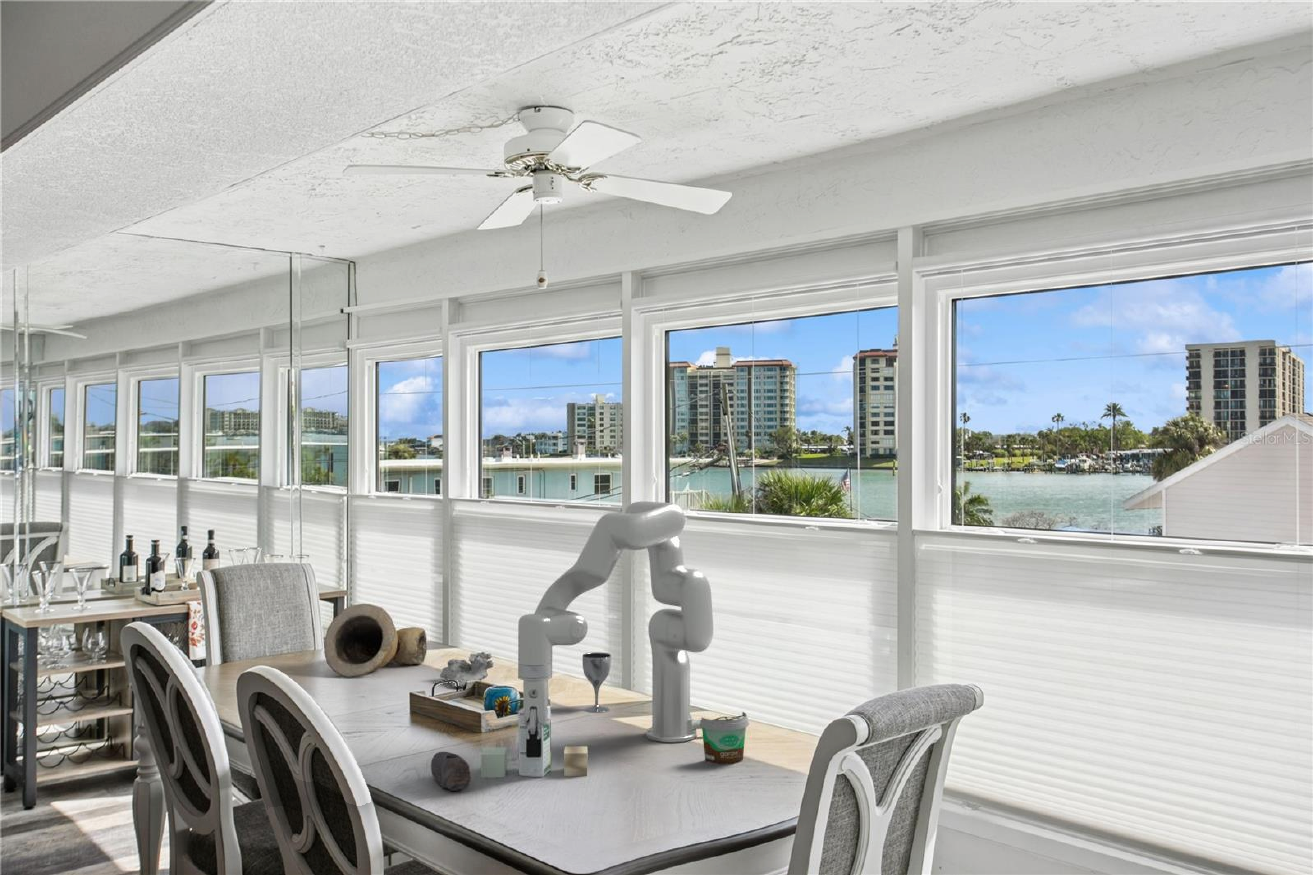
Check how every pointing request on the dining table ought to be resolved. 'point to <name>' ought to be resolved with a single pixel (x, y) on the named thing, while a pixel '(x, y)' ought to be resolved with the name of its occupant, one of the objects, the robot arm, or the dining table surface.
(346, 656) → the footed stone vessel
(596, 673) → the wine glass
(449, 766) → the perforated stone tool
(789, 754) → the dining table surface
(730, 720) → the food container
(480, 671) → the coral
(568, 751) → the birch cube
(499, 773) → the sage cube
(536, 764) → the syrup box
